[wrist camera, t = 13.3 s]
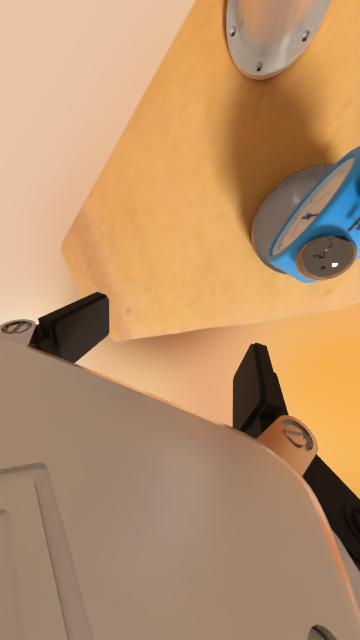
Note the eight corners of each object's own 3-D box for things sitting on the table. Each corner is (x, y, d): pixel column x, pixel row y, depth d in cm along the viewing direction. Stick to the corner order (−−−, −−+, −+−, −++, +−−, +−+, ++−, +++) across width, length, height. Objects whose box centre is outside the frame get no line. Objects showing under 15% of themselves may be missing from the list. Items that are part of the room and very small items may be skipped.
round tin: (271, 168, 29) (279, 155, 24) (367, 185, 27) (398, 174, 22) (239, 257, 37) (240, 262, 32) (312, 276, 35) (326, 284, 30)
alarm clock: (325, 166, 24) (432, 92, 11) (363, 189, 24) (517, 141, 11) (260, 255, 30) (278, 273, 18) (290, 272, 30) (330, 304, 18)
